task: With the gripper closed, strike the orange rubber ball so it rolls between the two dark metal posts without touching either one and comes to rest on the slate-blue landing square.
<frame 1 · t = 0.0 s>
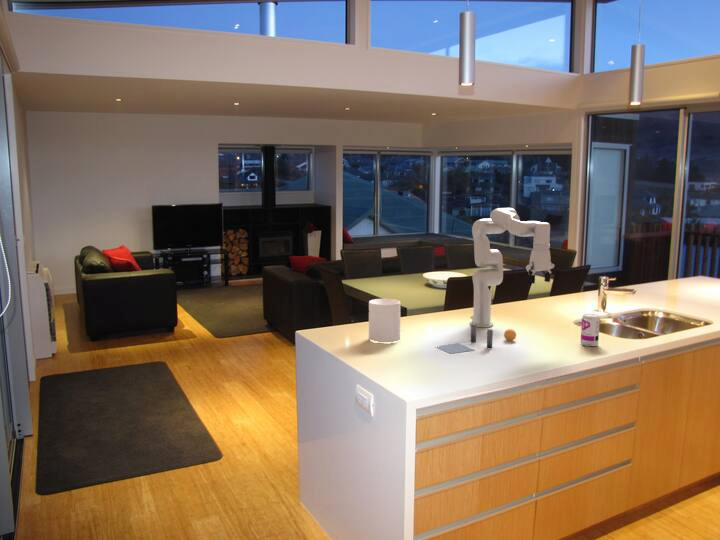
hand: (539, 282, 310), 31 cm above the table, tool pointing down, fingers open, 9 cm apart
ball: (510, 334, 320), on the table
post 1: (473, 341, 319), on the table
canister: (384, 340, 321), on the table
post 2: (489, 347, 307), on the table
supplement can: (589, 345, 313), on the table
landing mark: (454, 348, 306), on the table
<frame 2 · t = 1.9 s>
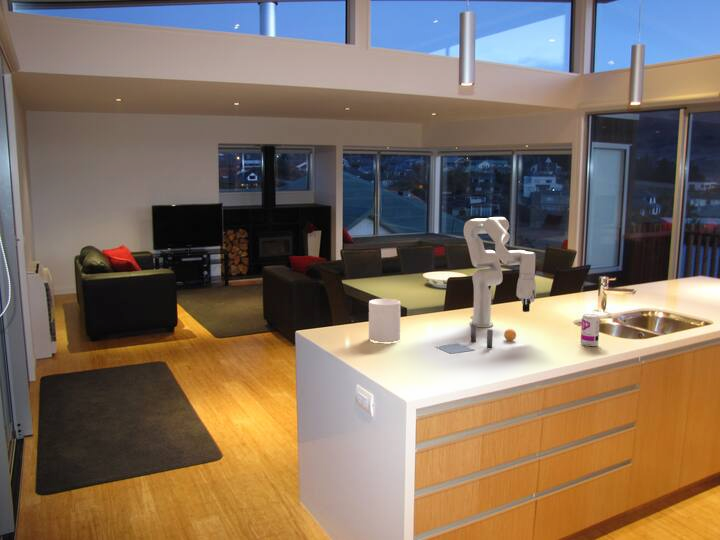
hand: (525, 311, 323), 14 cm above the table, tool pointing down, fingers closed
nothing on the table moved.
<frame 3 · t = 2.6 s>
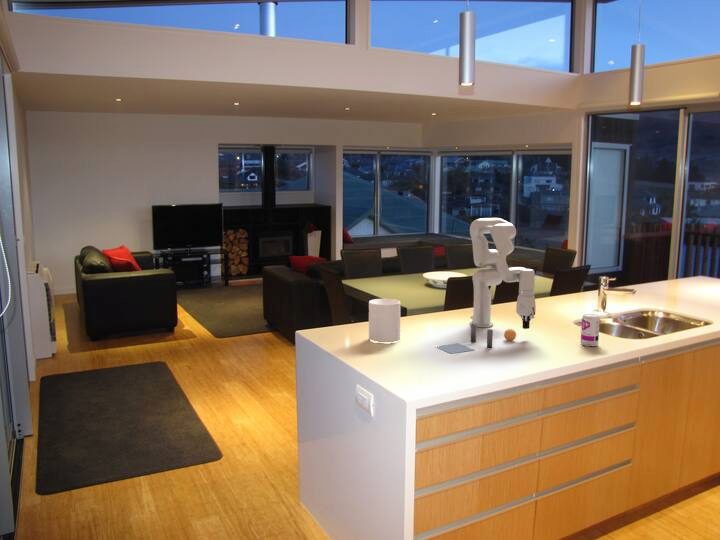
hand: (525, 328, 323), 6 cm above the table, tool pointing down, fingers closed
nothing on the table moved.
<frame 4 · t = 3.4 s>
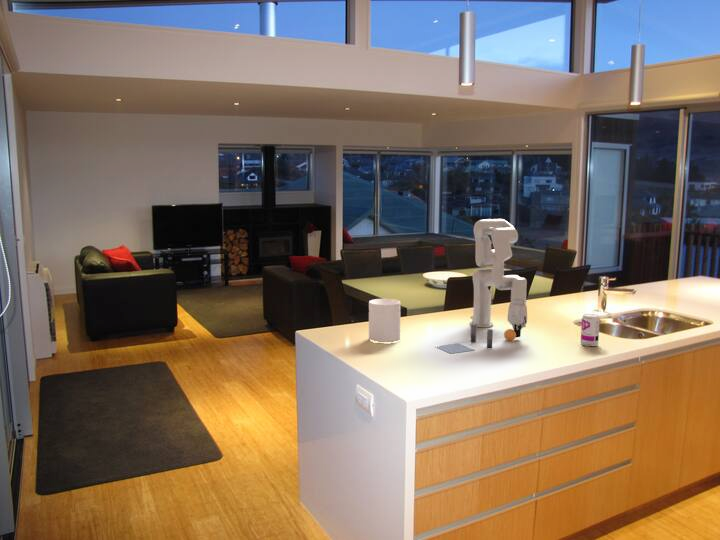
hand: (517, 336, 322), 2 cm above the table, tool pointing down, fingers closed
ball: (510, 334, 320), on the table, touching gripper
everything else where it was.
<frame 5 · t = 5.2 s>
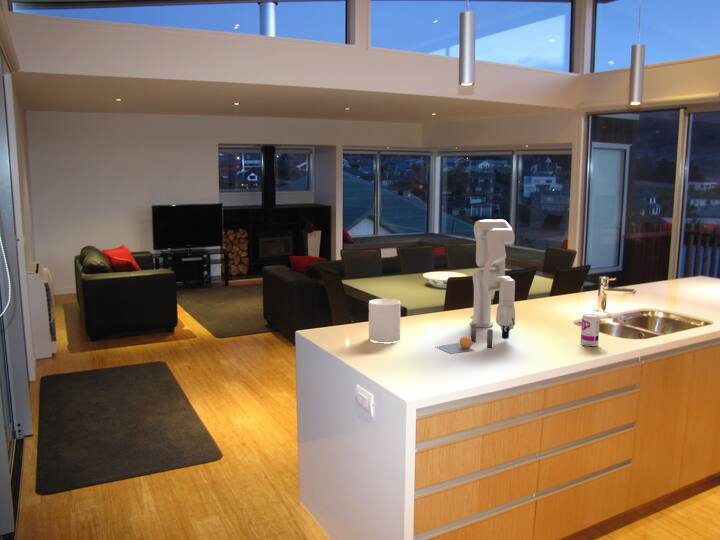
hand: (505, 338, 319), 2 cm above the table, tool pointing down, fingers closed
ball: (465, 342, 305), on the table
everything else where it was.
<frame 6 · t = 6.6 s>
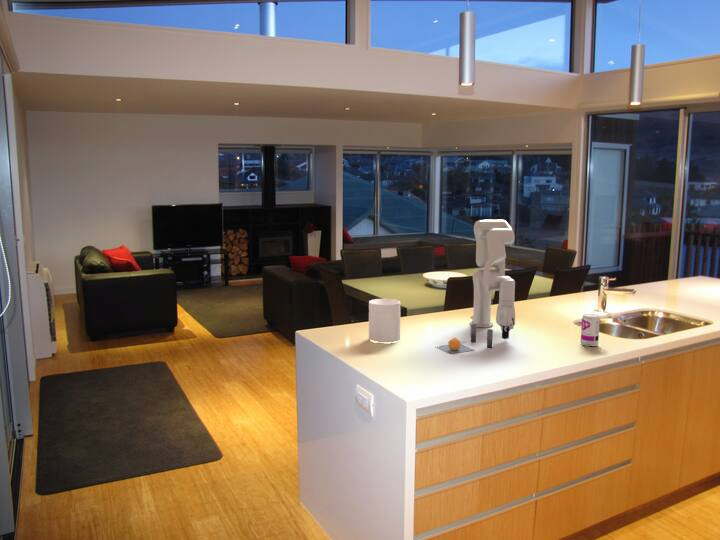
hand: (505, 338, 319), 2 cm above the table, tool pointing down, fingers closed
ball: (454, 344, 302), on the table
everything else where it was.
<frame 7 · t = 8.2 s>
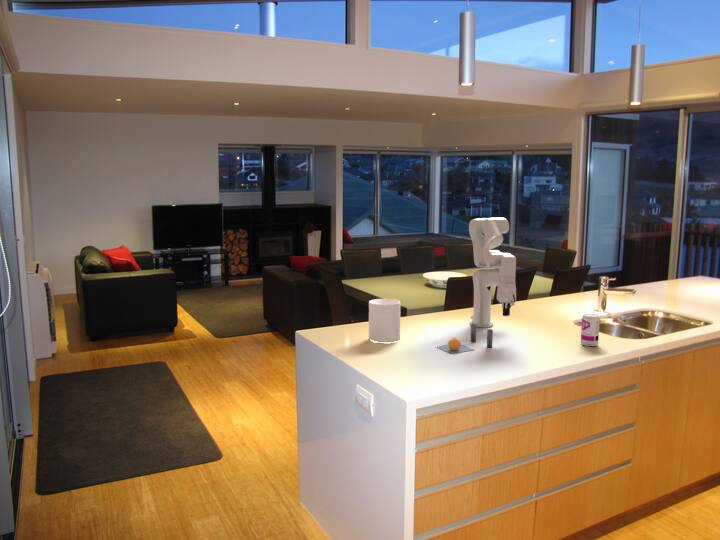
hand: (506, 315, 318), 13 cm above the table, tool pointing down, fingers closed
nothing on the table moved.
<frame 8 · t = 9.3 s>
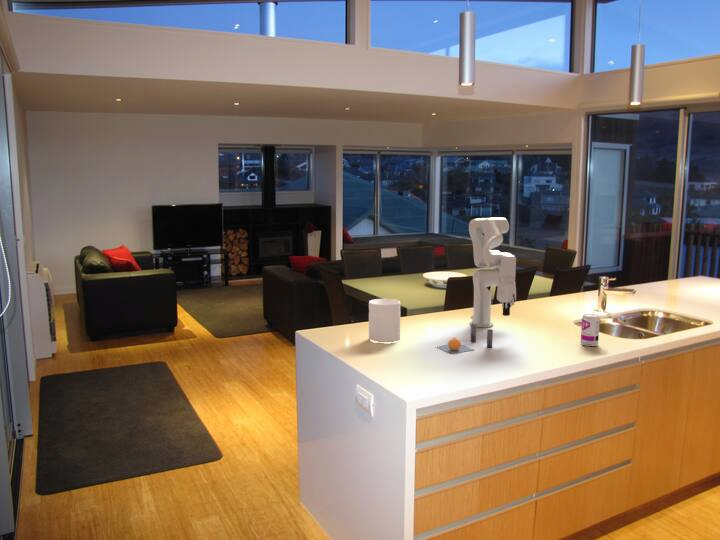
hand: (506, 315, 317), 13 cm above the table, tool pointing down, fingers closed
nothing on the table moved.
at the end: ball 3.6 cm from the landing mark (horizontally); ball never touched post 2; ball never touched post 1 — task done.
